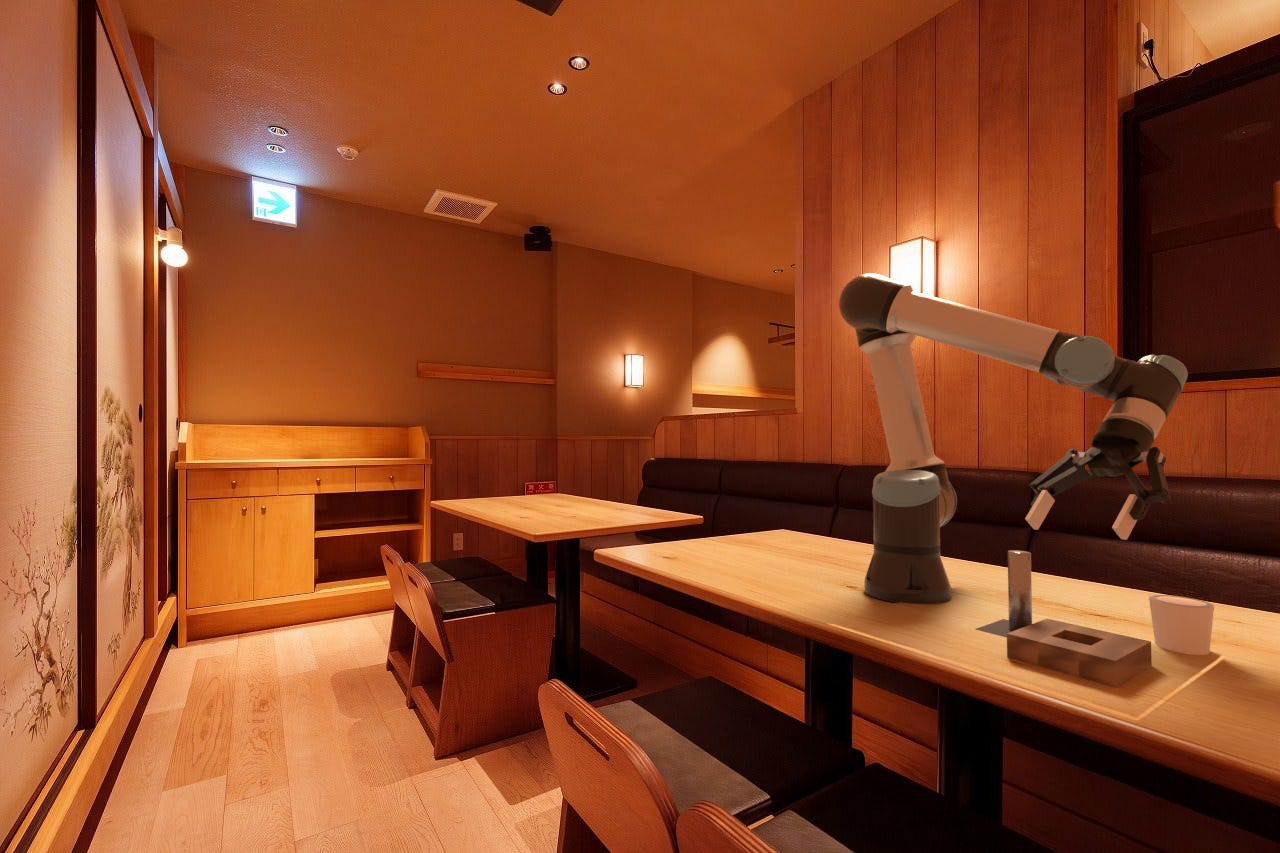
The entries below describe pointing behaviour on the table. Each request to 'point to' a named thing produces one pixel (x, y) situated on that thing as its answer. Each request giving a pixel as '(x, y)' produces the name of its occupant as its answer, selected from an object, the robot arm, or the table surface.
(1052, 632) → the socket block
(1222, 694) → the table surface
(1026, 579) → the peg
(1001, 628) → the coaster
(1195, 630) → the white cup
